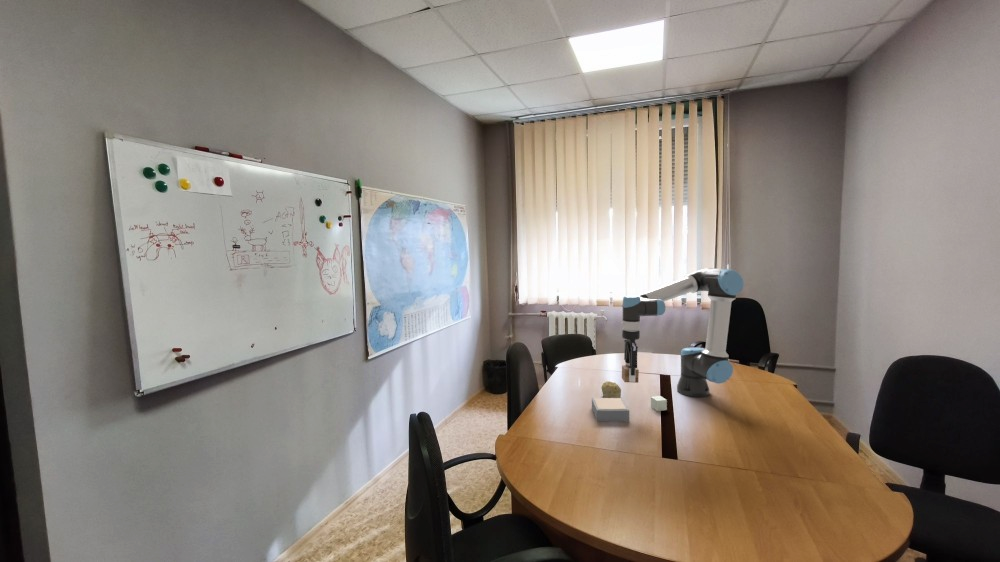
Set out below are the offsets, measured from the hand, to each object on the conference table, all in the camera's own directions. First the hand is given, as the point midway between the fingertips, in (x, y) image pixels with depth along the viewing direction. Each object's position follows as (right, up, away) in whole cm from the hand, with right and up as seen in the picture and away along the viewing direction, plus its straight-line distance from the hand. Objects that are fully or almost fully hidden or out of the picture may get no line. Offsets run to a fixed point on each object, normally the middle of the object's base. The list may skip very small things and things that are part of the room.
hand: (630, 379), depth 178 cm
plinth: (-10, -16, -1) cm, 19 cm away
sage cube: (+15, -15, +4) cm, 21 cm away
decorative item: (-3, -14, +20) cm, 24 cm away
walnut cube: (0, -1, 0) cm, 1 cm away
